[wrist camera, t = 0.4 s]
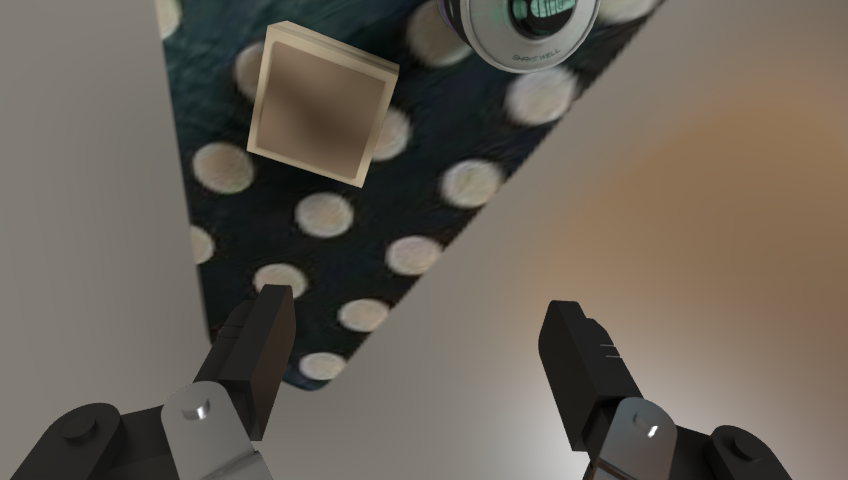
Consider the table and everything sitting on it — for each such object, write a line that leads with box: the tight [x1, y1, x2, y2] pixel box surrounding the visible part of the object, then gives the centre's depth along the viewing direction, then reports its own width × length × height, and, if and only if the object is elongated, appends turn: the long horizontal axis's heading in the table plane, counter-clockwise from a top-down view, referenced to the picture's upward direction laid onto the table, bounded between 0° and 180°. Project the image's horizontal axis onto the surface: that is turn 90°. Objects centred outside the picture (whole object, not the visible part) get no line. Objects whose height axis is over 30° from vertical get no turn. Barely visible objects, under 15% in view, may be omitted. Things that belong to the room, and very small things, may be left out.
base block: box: [247, 21, 399, 188], centre depth 33 cm, size 9×9×5 cm
